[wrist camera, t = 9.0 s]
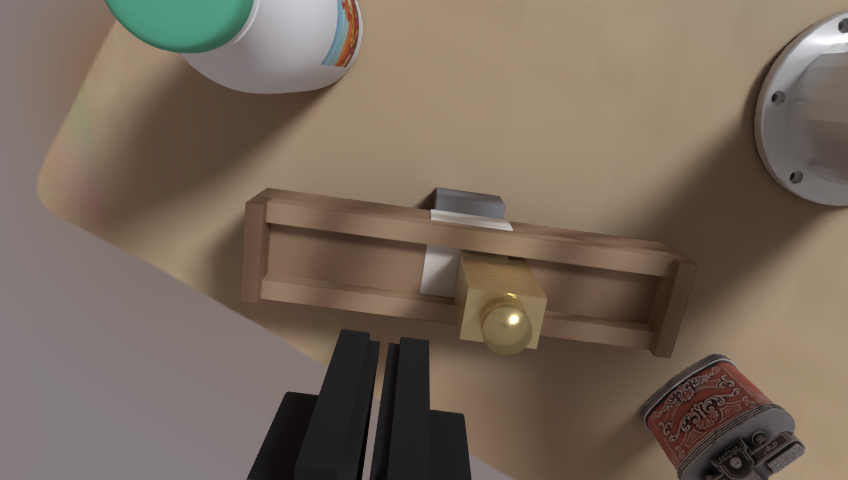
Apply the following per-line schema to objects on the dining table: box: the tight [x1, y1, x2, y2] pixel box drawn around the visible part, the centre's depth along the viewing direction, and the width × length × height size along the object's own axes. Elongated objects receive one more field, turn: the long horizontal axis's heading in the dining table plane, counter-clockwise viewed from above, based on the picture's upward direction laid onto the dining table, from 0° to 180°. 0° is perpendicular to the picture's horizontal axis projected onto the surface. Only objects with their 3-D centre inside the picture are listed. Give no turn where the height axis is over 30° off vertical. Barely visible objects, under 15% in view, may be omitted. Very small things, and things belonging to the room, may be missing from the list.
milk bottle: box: [105, 0, 363, 94], centre depth 27 cm, size 8×8×20 cm
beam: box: [240, 187, 697, 358], centre depth 37 cm, size 26×8×8 cm, turn 82°
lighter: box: [640, 354, 805, 480], centre depth 39 cm, size 8×3×10 cm, turn 134°
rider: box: [454, 251, 547, 356], centre depth 31 cm, size 4×3×8 cm
